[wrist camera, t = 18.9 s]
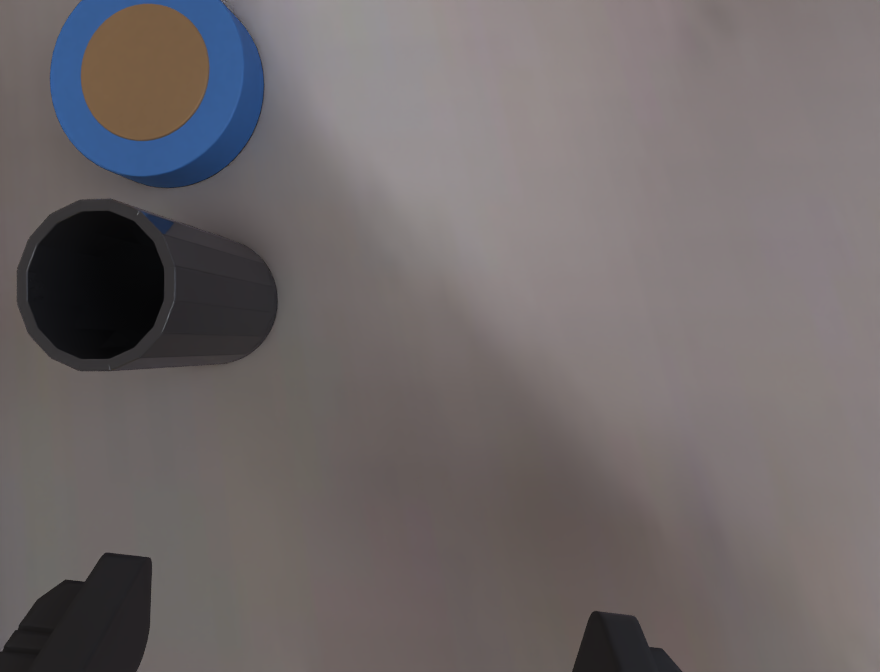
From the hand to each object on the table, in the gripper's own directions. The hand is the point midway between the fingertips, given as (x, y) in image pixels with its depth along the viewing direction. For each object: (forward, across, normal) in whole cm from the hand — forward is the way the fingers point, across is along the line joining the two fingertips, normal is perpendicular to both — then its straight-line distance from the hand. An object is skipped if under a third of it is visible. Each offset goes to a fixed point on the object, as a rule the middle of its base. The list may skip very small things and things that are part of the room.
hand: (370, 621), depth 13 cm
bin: (+24, +9, +3) cm, 26 cm away
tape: (+28, +13, -6) cm, 32 cm away
